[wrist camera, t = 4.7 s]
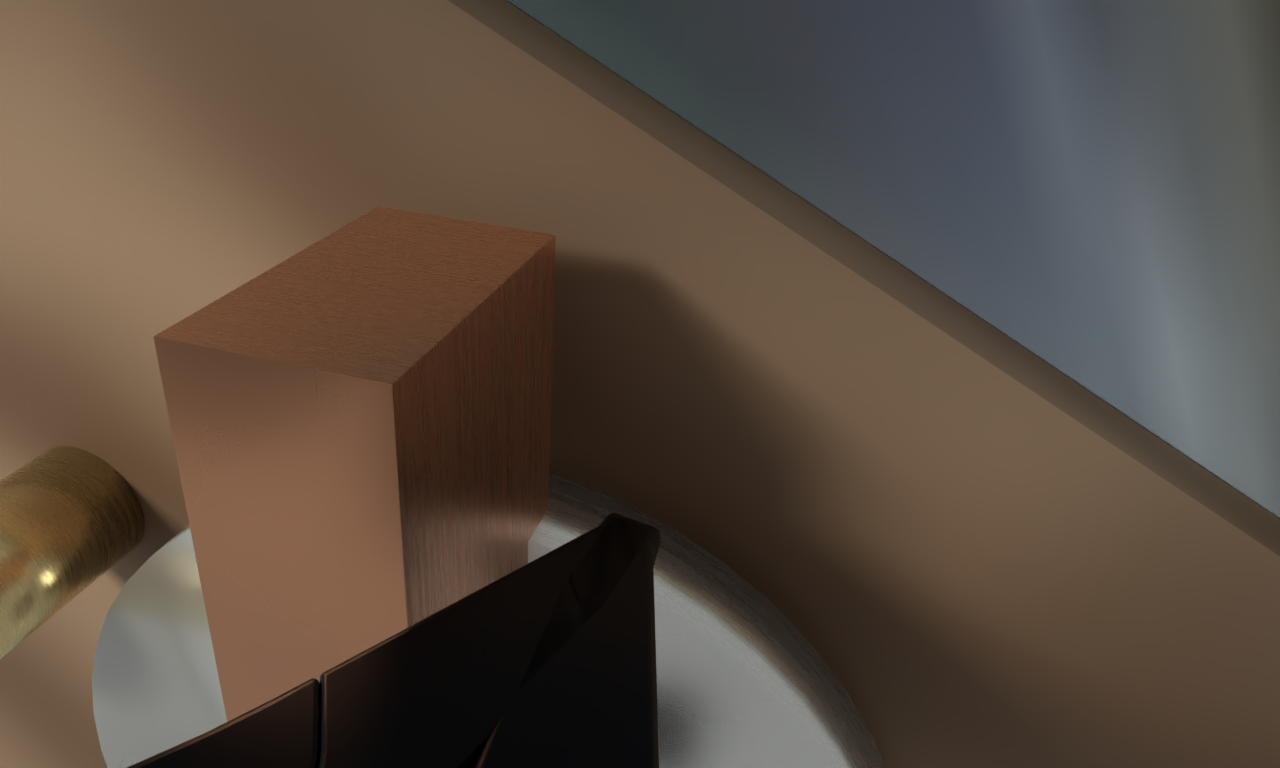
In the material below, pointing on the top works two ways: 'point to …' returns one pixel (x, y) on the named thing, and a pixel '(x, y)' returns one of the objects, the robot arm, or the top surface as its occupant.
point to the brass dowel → (59, 535)
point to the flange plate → (409, 503)
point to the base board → (626, 371)
